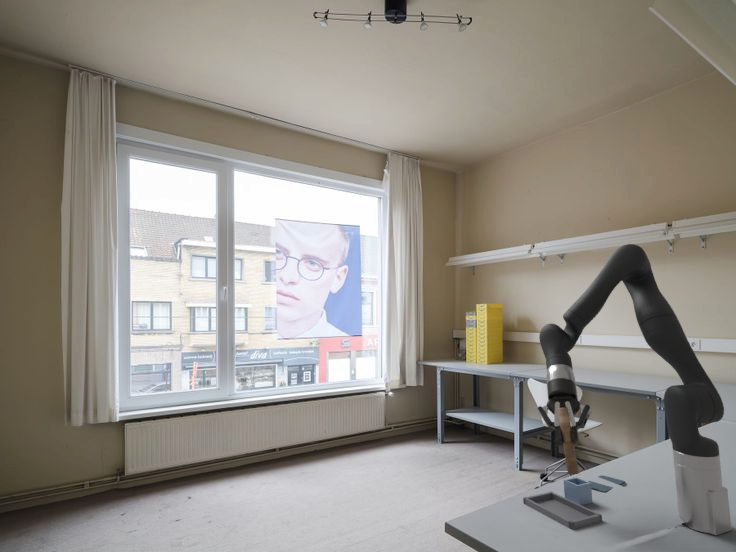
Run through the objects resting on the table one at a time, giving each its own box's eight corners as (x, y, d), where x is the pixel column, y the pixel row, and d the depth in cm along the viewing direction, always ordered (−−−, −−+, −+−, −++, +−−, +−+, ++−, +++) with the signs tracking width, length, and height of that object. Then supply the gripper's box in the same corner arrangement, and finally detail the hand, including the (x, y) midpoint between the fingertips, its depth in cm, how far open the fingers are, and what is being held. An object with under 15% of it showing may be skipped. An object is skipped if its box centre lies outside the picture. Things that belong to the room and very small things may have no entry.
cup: (592, 506, 116) (591, 483, 116) (579, 509, 114) (577, 485, 114) (578, 499, 120) (576, 477, 121) (565, 502, 118) (563, 479, 119)
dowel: (581, 473, 109) (569, 408, 113) (572, 474, 109) (561, 409, 112) (574, 471, 112) (563, 407, 115) (565, 472, 111) (555, 408, 115)
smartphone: (627, 481, 131) (605, 492, 121) (627, 486, 131) (606, 498, 121) (601, 474, 137) (578, 484, 127) (601, 480, 136) (579, 490, 127)
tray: (602, 525, 105) (601, 514, 105) (572, 533, 101) (571, 522, 101) (551, 500, 120) (551, 491, 120) (523, 507, 116) (523, 497, 116)
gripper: (590, 390, 122) (599, 449, 110) (538, 392, 128) (541, 449, 116) (586, 375, 117) (595, 435, 105) (532, 378, 123) (536, 435, 112)
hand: (567, 442), depth 111 cm, fingers closed on dowel, 2 cm apart
